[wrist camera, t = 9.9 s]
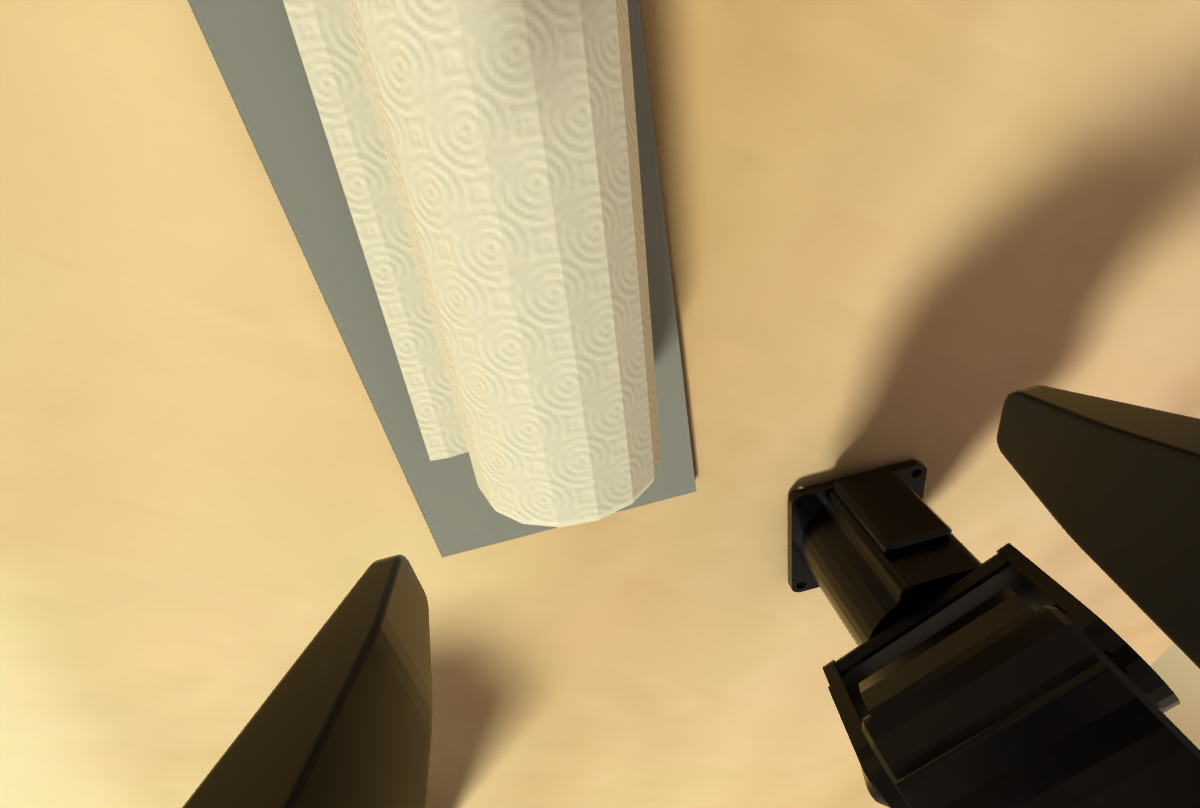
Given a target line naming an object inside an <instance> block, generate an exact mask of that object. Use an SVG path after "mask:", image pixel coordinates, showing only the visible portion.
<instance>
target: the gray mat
mask: <svg viewBox="0 0 1200 808" xmlns="http://www.w3.org/2000/svg"><path fill="white" fill-rule="evenodd" d="M188 2H189V4H190V7H191V9H192V11H193V13H194V15H195V18H196V20H197V22H198V24H199V26H200V29H201V31H202V33H203V35H204V37H205V39H206V42H207V44H208V46H209V48H210V50H211V53H212V55H213V57H214V59H215V61H216V64H217V66H218V68H219V70H220V72H221V74H222V77H223V79H224V81H225V83H226V85H227V88H228V90H229V92H230V94H231V96H232V99H233V101H234V103H235V105H236V107H237V109H238V112H239V114H240V116H241V118H242V120H243V123H244V125H245V127H246V129H247V131H248V134H249V136H250V138H251V140H252V142H253V144H254V147H255V149H256V151H257V153H258V155H259V158H260V160H261V162H262V164H263V166H264V169H265V171H266V173H267V175H268V177H269V179H270V182H271V184H272V186H273V188H274V190H275V193H276V195H277V197H278V199H279V201H280V204H281V206H282V208H283V210H284V212H285V214H286V217H287V219H288V221H289V223H290V225H291V228H292V230H293V232H294V234H295V236H296V239H297V241H298V243H299V245H300V247H301V249H302V252H303V254H304V256H305V258H306V260H307V263H308V265H309V267H310V269H311V271H312V274H313V276H314V278H315V280H316V282H317V284H318V287H319V289H320V291H321V293H322V295H323V298H324V300H325V302H326V304H327V306H328V309H329V311H330V313H331V315H332V317H333V319H334V322H335V324H336V326H337V328H338V330H339V333H340V335H341V337H342V339H343V341H344V344H345V346H346V348H347V350H348V352H349V354H350V357H351V359H352V361H353V363H354V365H355V368H356V370H357V372H358V374H359V376H360V379H361V381H362V383H363V385H364V387H365V389H366V392H367V394H368V396H369V398H370V400H371V403H372V405H373V407H374V409H375V411H376V414H377V416H378V418H379V420H380V422H381V424H382V427H383V429H384V431H385V433H386V435H387V438H388V440H389V442H390V444H391V446H392V449H393V451H394V453H395V455H396V457H397V459H398V462H399V464H400V466H401V468H402V470H403V473H404V475H405V477H406V479H407V481H408V484H409V486H410V488H411V490H412V492H413V494H414V497H415V499H416V501H417V503H418V505H419V508H420V510H421V512H422V514H423V516H424V519H425V521H426V523H427V525H428V527H429V529H430V532H431V534H432V536H433V538H434V540H435V543H436V545H437V547H438V549H439V551H440V554H441V556H442V557H446V556H449V555H453V554H457V553H461V552H465V551H469V550H472V549H476V548H480V547H484V546H488V545H492V544H495V543H499V542H503V541H507V540H511V539H515V538H519V537H522V536H526V535H530V534H534V533H538V532H542V531H545V530H549V529H553V528H557V527H552V526H541V525H530V524H522V523H520V522H518V521H516V520H514V519H511V518H509V517H507V516H505V515H503V514H501V513H499V512H497V511H495V510H494V508H493V507H492V506H491V504H490V503H489V501H488V500H487V499H486V497H485V496H484V494H483V493H482V491H481V490H480V489H479V487H478V484H477V481H476V477H475V473H474V470H473V466H472V462H471V459H470V455H469V452H466V453H463V454H460V455H457V456H453V457H450V458H445V459H439V460H433V461H430V459H429V455H428V452H427V449H426V446H425V443H424V440H423V437H422V434H421V430H420V427H419V424H418V421H417V418H416V415H415V412H414V409H413V405H412V402H411V399H410V396H409V393H408V390H407V387H406V384H405V381H404V377H403V374H402V371H401V368H400V365H399V362H398V359H397V356H396V352H395V349H394V346H393V343H392V340H391V337H390V334H389V331H388V327H387V324H386V321H385V318H384V315H383V312H382V309H381V306H380V302H379V299H378V296H377V293H376V290H375V287H374V284H373V281H372V277H371V274H370V271H369V268H368V265H367V262H366V259H365V256H364V253H363V249H362V246H361V243H360V240H359V237H358V234H357V231H356V228H355V224H354V221H353V218H352V215H351V212H350V209H349V206H348V203H347V199H346V196H345V193H344V190H343V187H342V184H341V181H340V178H339V174H338V171H337V168H336V165H335V162H334V159H333V156H332V153H331V149H330V146H329V143H328V140H327V137H326V134H325V131H324V128H323V125H322V121H321V118H320V115H319V112H318V109H317V106H316V103H315V100H314V96H313V93H312V90H311V87H310V84H309V81H308V78H307V75H306V71H305V68H304V65H303V62H302V59H301V56H300V53H299V50H298V46H297V43H296V40H295V37H294V34H293V31H292V28H291V25H290V22H289V18H288V15H287V12H286V9H285V6H284V3H283V0H188ZM627 5H628V19H629V32H630V45H631V59H632V72H633V86H634V99H635V113H636V126H637V140H638V153H639V167H640V180H641V194H642V207H643V221H644V234H645V248H646V261H647V275H648V288H649V301H650V315H651V328H652V342H653V355H654V369H655V382H656V396H657V409H658V423H659V436H660V450H661V456H660V459H659V463H658V466H657V470H656V474H655V477H654V481H653V483H652V484H651V485H650V486H649V487H648V488H647V489H646V490H645V491H644V492H643V493H642V494H641V495H640V496H639V497H638V498H637V499H636V500H635V501H634V502H633V503H632V504H631V505H629V506H627V507H625V508H623V509H620V510H618V511H622V510H626V509H630V508H634V507H638V506H641V505H645V504H649V503H653V502H657V501H661V500H665V499H668V498H672V497H676V496H680V495H684V494H688V493H691V492H695V491H696V486H695V477H694V469H693V460H692V451H691V442H690V434H689V425H688V416H687V408H686V399H685V390H684V382H683V373H682V364H681V355H680V347H679V338H678V329H677V321H676V312H675V303H674V295H673V286H672V277H671V268H670V260H669V251H668V242H667V234H666V225H665V216H664V208H663V199H662V190H661V182H660V173H659V164H658V155H657V147H656V138H655V129H654V121H653V112H652V103H651V95H650V86H649V77H648V68H647V60H646V51H645V42H644V34H643V25H642V16H641V8H640V0H627ZM618 511H616V512H618ZM614 513H615V512H614Z"/></svg>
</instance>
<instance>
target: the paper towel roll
mask: <svg viewBox="0 0 1200 808" xmlns="http://www.w3.org/2000/svg"><path fill="white" fill-rule="evenodd" d="M283 3H284V6H285V9H286V12H287V15H288V18H289V22H290V25H291V28H292V31H293V34H294V37H295V40H296V43H297V46H298V50H299V53H300V56H301V59H302V62H303V65H304V68H305V71H306V75H307V78H308V81H309V84H310V87H311V90H312V93H313V96H314V100H315V103H316V106H317V109H318V112H319V115H320V118H321V121H322V125H323V128H324V131H325V134H326V137H327V140H328V143H329V146H330V149H331V153H332V156H333V159H334V162H335V165H336V168H337V171H338V174H339V178H340V181H341V184H342V187H343V190H344V193H345V196H346V199H347V203H348V206H349V209H350V212H351V215H352V218H353V221H354V224H355V228H356V231H357V234H358V237H359V240H360V243H361V246H362V249H363V253H364V256H365V259H366V262H367V265H368V268H369V271H370V274H371V277H372V281H373V284H374V287H375V290H376V293H377V296H378V299H379V302H380V306H381V309H382V312H383V315H384V318H385V321H386V324H387V327H388V331H389V334H390V337H391V340H392V343H393V346H394V349H395V352H396V356H397V359H398V362H399V365H400V368H401V371H402V374H403V377H404V381H405V384H406V387H407V390H408V393H409V396H410V399H411V402H412V405H413V409H414V412H415V415H416V418H417V421H418V424H419V427H420V430H421V434H422V437H423V440H424V443H425V446H426V449H427V452H428V455H429V459H430V461H433V460H439V459H445V458H450V457H453V456H457V455H460V454H463V453H466V452H469V455H470V459H471V462H472V466H473V470H474V473H475V477H476V481H477V484H478V487H479V489H480V490H481V491H482V493H483V494H484V496H485V497H486V499H487V500H488V501H489V503H490V504H491V506H492V507H493V508H494V510H495V511H497V512H499V513H501V514H503V515H505V516H507V517H509V518H511V519H514V520H516V521H518V522H520V523H522V524H530V525H541V526H552V527H564V526H569V525H575V524H580V523H586V522H591V521H596V520H600V519H602V518H604V517H606V516H608V515H610V514H612V513H614V512H616V511H618V510H620V509H623V508H625V507H627V506H629V505H631V504H632V503H633V502H634V501H635V500H636V499H637V498H638V497H639V496H640V495H641V494H642V493H643V492H644V491H645V490H646V489H647V488H648V487H649V486H650V485H651V484H652V483H653V481H654V477H655V474H656V470H657V466H658V463H659V459H660V456H661V450H660V436H659V423H658V409H657V396H656V382H655V369H654V355H653V342H652V328H651V315H650V301H649V288H648V275H647V261H646V248H645V234H644V221H643V207H642V194H641V180H640V167H639V153H638V140H637V126H636V113H635V99H634V86H633V72H632V59H631V45H630V32H629V19H628V5H627V0H283Z"/></svg>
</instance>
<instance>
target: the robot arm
mask: <svg viewBox="0 0 1200 808" xmlns="http://www.w3.org/2000/svg"><path fill="white" fill-rule="evenodd" d="M997 443H998V447H999V449H1000V451H1001V453H1002V454H1003V455H1004V457H1005V458H1006V459H1007V460H1008V462H1009V463H1010V464H1011V465H1012V466H1013V468H1014V469H1015V470H1016V471H1017V473H1018V474H1019V475H1020V476H1021V478H1022V479H1023V480H1024V481H1025V482H1026V484H1027V485H1028V486H1029V487H1030V489H1031V490H1032V491H1033V492H1034V494H1035V495H1036V496H1037V497H1038V498H1039V500H1040V501H1041V502H1042V503H1043V505H1044V506H1045V507H1046V508H1047V510H1048V511H1049V512H1050V513H1051V514H1052V516H1053V517H1054V518H1055V519H1056V521H1057V522H1058V523H1059V524H1060V525H1061V526H1062V528H1063V529H1064V530H1065V531H1066V532H1067V534H1068V535H1069V536H1070V537H1071V538H1072V539H1073V540H1074V541H1075V542H1076V543H1077V544H1078V545H1079V546H1080V547H1081V549H1082V550H1083V551H1084V552H1085V553H1086V554H1087V555H1088V556H1089V557H1090V558H1091V559H1092V560H1093V561H1094V562H1095V563H1096V564H1097V565H1098V566H1099V567H1100V568H1101V569H1102V570H1103V571H1104V572H1105V573H1106V574H1107V575H1108V576H1109V577H1110V578H1111V579H1112V580H1113V581H1114V582H1115V583H1116V584H1117V585H1118V586H1119V587H1120V588H1121V589H1122V590H1123V591H1124V592H1125V593H1126V594H1127V595H1128V596H1129V597H1130V598H1131V599H1132V600H1133V601H1134V602H1135V603H1136V604H1137V605H1138V607H1139V608H1140V609H1141V610H1142V611H1143V612H1144V613H1145V614H1146V615H1147V616H1148V617H1149V618H1150V619H1151V620H1152V621H1153V622H1154V623H1155V624H1156V625H1157V626H1158V627H1159V628H1160V629H1161V630H1162V631H1163V632H1164V633H1165V634H1166V635H1167V636H1168V637H1169V638H1170V639H1171V640H1172V641H1173V642H1174V643H1175V644H1176V645H1177V646H1178V647H1179V648H1180V649H1181V650H1182V651H1183V652H1184V653H1185V654H1186V655H1187V656H1188V657H1189V658H1190V659H1191V660H1192V661H1193V662H1194V663H1195V664H1196V665H1197V667H1199V668H1200V419H1198V418H1193V417H1188V416H1184V415H1179V414H1174V413H1169V412H1165V411H1160V410H1155V409H1151V408H1146V407H1141V406H1136V405H1132V404H1127V403H1122V402H1117V401H1113V400H1108V399H1103V398H1099V397H1094V396H1089V395H1084V394H1080V393H1075V392H1070V391H1066V390H1061V389H1056V388H1051V387H1047V386H1041V385H1036V386H1031V387H1027V388H1023V389H1019V390H1016V391H1013V392H1011V393H1009V394H1008V395H1007V397H1006V398H1005V400H1004V404H1003V409H1002V414H1001V418H1000V423H999V428H998V433H997ZM926 472H927V468H926V467H925V466H924V465H923V464H922V463H921V462H920V461H919V460H910V461H906V462H903V463H899V464H895V465H891V466H887V467H884V468H880V469H876V470H872V471H868V472H865V473H861V474H857V475H853V476H849V477H846V478H842V479H838V480H834V481H830V482H827V483H823V484H819V485H815V486H811V487H808V488H804V489H800V490H797V491H795V492H793V493H792V494H791V495H790V496H789V498H788V583H789V585H790V587H791V589H792V590H793V591H794V592H802V591H806V590H810V589H813V588H817V587H820V588H821V589H822V591H823V592H824V594H825V595H826V597H827V599H828V600H829V602H830V603H831V605H832V606H833V608H834V609H835V611H836V612H837V614H838V616H839V617H840V619H841V620H842V622H843V623H844V625H845V626H846V628H847V629H848V631H849V633H850V634H851V636H852V637H853V639H854V640H855V642H856V643H857V645H858V647H856V648H855V649H853V650H852V651H850V652H849V653H847V654H846V655H844V656H843V657H841V658H840V659H838V660H837V661H834V660H832V661H831V662H830V663H828V664H827V665H825V666H824V667H823V670H824V673H825V675H826V677H827V680H828V682H829V684H830V686H829V687H828V688H829V691H830V693H831V696H832V698H833V700H834V703H835V705H836V707H837V710H838V712H839V714H840V717H841V719H842V722H843V724H844V726H845V729H846V731H847V733H848V736H849V738H850V740H851V743H852V745H853V748H854V750H855V752H856V755H857V757H858V759H859V762H860V764H861V768H862V771H863V775H864V779H865V783H866V786H867V789H868V791H869V793H870V794H871V796H872V797H873V798H874V800H875V801H876V802H878V803H880V804H883V805H885V806H887V807H890V808H1200V750H1199V749H1198V748H1197V747H1196V746H1195V745H1194V744H1193V743H1192V742H1191V741H1190V740H1189V739H1188V738H1187V737H1186V736H1185V735H1184V734H1183V733H1182V732H1181V731H1180V730H1179V729H1178V728H1177V727H1176V726H1175V725H1174V724H1173V723H1172V722H1171V721H1170V720H1169V719H1168V718H1167V717H1166V716H1165V715H1164V714H1163V713H1164V712H1166V711H1167V710H1169V709H1171V708H1173V707H1175V706H1176V705H1178V704H1180V701H1179V699H1178V698H1177V697H1176V695H1175V694H1174V692H1173V691H1172V690H1171V689H1170V688H1169V686H1168V685H1167V684H1166V683H1165V682H1164V681H1163V680H1162V679H1161V678H1160V676H1159V675H1158V674H1157V673H1156V672H1155V671H1154V670H1153V669H1152V668H1151V667H1150V666H1149V665H1148V664H1147V663H1146V662H1145V661H1144V660H1143V659H1142V658H1141V657H1140V656H1139V655H1138V654H1137V653H1136V652H1135V651H1134V650H1133V649H1132V648H1131V647H1130V646H1129V645H1128V644H1127V643H1126V642H1125V641H1124V640H1123V639H1122V638H1121V637H1120V636H1119V635H1118V634H1117V633H1116V632H1114V631H1113V630H1112V629H1111V628H1110V627H1109V626H1108V625H1107V624H1106V623H1105V622H1103V621H1102V620H1101V619H1100V618H1099V617H1098V616H1097V615H1095V614H1094V613H1093V612H1092V611H1091V610H1090V609H1088V608H1087V607H1086V606H1085V605H1084V604H1082V603H1081V602H1080V601H1079V600H1078V599H1076V598H1075V597H1074V596H1073V595H1072V594H1070V593H1069V592H1068V591H1067V590H1065V589H1064V588H1063V587H1062V586H1061V585H1059V584H1058V583H1057V582H1056V581H1055V580H1053V579H1052V578H1051V577H1050V576H1049V575H1047V574H1046V573H1045V572H1044V571H1042V570H1041V569H1040V568H1039V567H1038V566H1036V565H1035V564H1034V563H1033V562H1032V561H1030V560H1029V559H1028V558H1027V557H1025V556H1024V555H1023V554H1022V553H1021V552H1019V551H1018V550H1017V549H1016V548H1015V547H1013V546H1012V545H1011V544H1010V543H1008V544H1006V545H1005V546H1003V547H1002V548H1000V549H999V550H997V554H996V555H994V556H993V557H991V558H990V559H988V560H987V561H985V562H984V563H981V562H980V561H979V560H978V559H977V558H976V557H975V556H974V555H973V554H972V553H971V552H970V551H969V550H968V549H967V548H966V547H965V546H964V545H963V544H962V543H961V542H960V541H959V540H958V539H957V538H956V537H955V536H954V535H953V534H952V533H951V531H952V530H951V528H950V527H949V526H948V525H947V524H946V523H945V522H944V521H943V520H942V519H941V518H940V517H939V516H938V515H937V514H936V513H935V512H934V511H933V510H932V509H931V508H930V507H929V506H928V505H927V504H926V503H925V502H924V501H923V500H922V498H923V491H924V485H925V479H926ZM800 500H801V501H800ZM799 501H800V502H799ZM432 713H433V712H432V679H431V656H430V632H429V609H428V602H427V597H426V594H425V592H424V590H423V588H422V586H421V584H420V582H419V580H418V578H417V576H416V574H415V572H414V571H413V569H412V567H411V565H410V563H409V561H408V560H407V558H406V557H405V556H403V555H395V556H392V557H388V558H384V559H380V560H377V561H375V562H373V563H372V564H371V565H370V566H369V568H368V569H367V570H366V571H365V573H364V574H363V575H362V577H361V578H360V579H359V580H358V582H357V583H356V584H355V586H354V587H353V588H352V589H351V591H350V592H349V593H348V595H347V596H346V597H345V598H344V600H343V601H342V602H341V604H340V605H339V606H338V608H337V609H336V610H335V611H334V613H333V614H332V615H331V617H330V618H329V619H328V620H327V622H326V623H325V624H324V626H323V627H322V628H321V629H320V631H319V632H318V633H317V635H316V636H315V637H314V638H313V640H312V641H311V642H310V644H309V645H308V646H307V647H306V649H305V650H304V651H303V653H302V654H301V655H300V657H299V658H298V659H297V660H296V662H295V663H294V664H293V666H292V667H291V668H290V669H289V671H288V672H287V673H286V675H285V676H284V677H283V678H282V680H281V681H280V682H279V684H278V685H277V686H276V687H275V689H274V690H273V691H272V693H271V694H270V695H269V696H268V698H267V699H266V700H265V702H264V703H263V704H262V705H261V707H260V708H259V709H258V711H257V712H256V713H255V715H254V716H253V717H252V718H251V720H250V721H249V722H248V724H247V725H246V726H245V727H244V729H243V730H242V731H241V733H240V734H239V735H238V736H237V738H236V739H235V740H234V742H233V743H232V744H231V745H230V747H229V748H228V749H227V751H226V752H225V753H224V754H223V756H222V757H221V758H220V760H219V761H218V762H217V763H216V765H215V766H214V767H213V769H212V770H211V771H210V773H209V774H208V775H207V776H206V778H205V779H204V780H203V782H202V783H201V784H200V785H199V787H198V788H197V789H196V791H195V792H194V793H193V794H192V796H191V797H190V798H189V800H188V801H187V802H186V803H185V805H184V806H183V807H182V808H426V804H427V790H428V776H429V762H430V748H431V734H432Z"/></svg>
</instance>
